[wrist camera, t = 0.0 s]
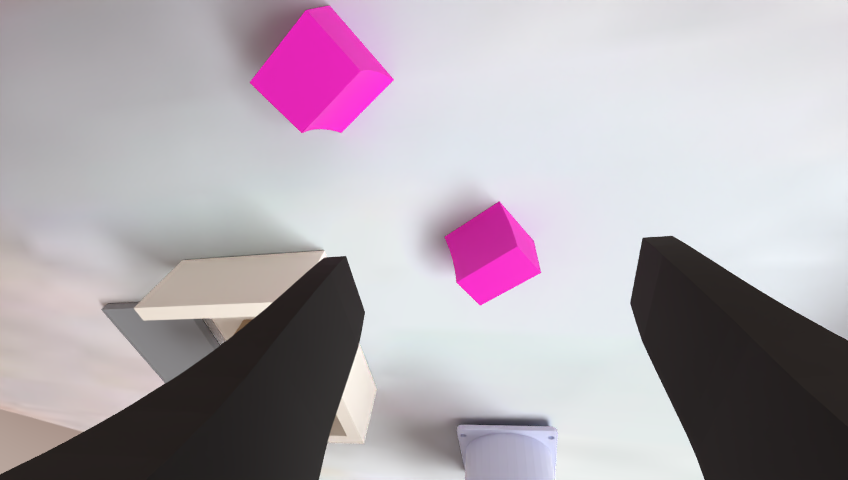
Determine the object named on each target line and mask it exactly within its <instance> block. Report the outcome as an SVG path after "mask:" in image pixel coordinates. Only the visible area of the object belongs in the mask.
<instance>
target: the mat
mask: <svg viewBox="0 0 848 480" xmlns="http://www.w3.org/2000/svg"><path fill="white" fill-rule="evenodd" d="M138 303H139V302H137V303H115V304H107V305H106V306H105V307H104V308H102V309H101V310H102V311H103V312H104V313H105V314H106V316H107V317H108V318H109V319H110V320H111V321H112V323H113V324H114V325H115V326H116V327H117V328H118V329H119V331H120V332H121V333H122V334H123V335H124V336H125V337H126V339H127V340H128V341H129V342H130V343H131V344H132V346H133V347H134V348H135V349H136V350H137V351H138V352H139V354H140V355H141V356H142V357H143V358H144V359H145V360H146V362H147V363H148V364H149V365H150V366H151V367H152V369H153V370H154V371H155V372H156V373H157V374H158V375H159V377H160V378H161V379H162V380H163V381H164V382H165V383H167V382H169V381H170V380H172V379H173V378H175V377H176V376H178V375H179V374H181V373H182V372H184V371H185V370H187V369H188V368H190V367H191V366H192V365H194V364H195V363H197V362H198V361H200V360H201V359H202V358H204V357H205V356H207V355H208V354H209V353H211V352H212V351H214V350H215V349H216V348H218V347H219V346H220V345H219V343H218V342H217V340H216V339H215V338H214V336H213V335H212V333H211V332H210V330H209V329H208V327H207V326H206V324H205V323H204V321H203V320H202V319H174V320H146V321H143V319H142V318H141V317H140V316H139V314H138V313H137V312H136V311H135V309H134V307H135V306H136V305H137V304H138Z"/></svg>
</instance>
